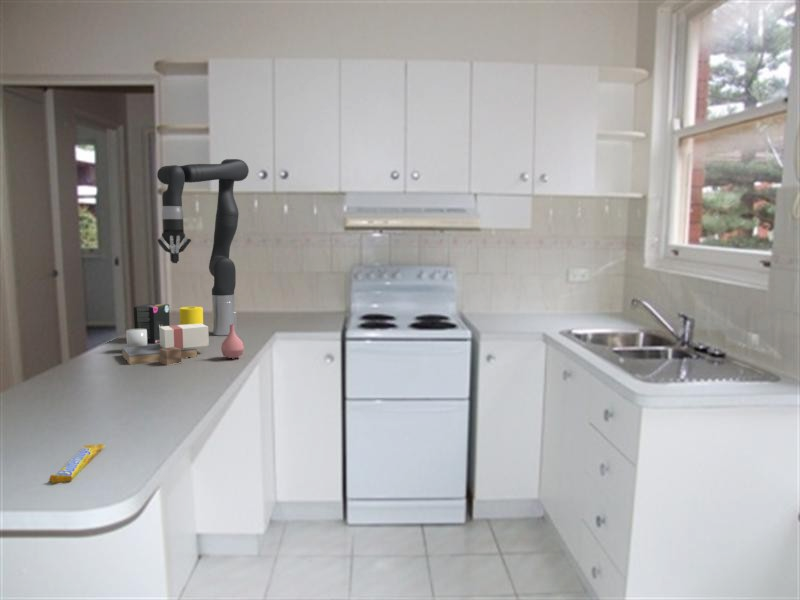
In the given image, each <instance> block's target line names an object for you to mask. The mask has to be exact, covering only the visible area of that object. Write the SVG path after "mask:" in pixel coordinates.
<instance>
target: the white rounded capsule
mask: <svg viewBox="0 0 800 600" xmlns="http://www.w3.org/2000/svg"><path fill="white" fill-rule="evenodd" d="M125 333H126V347H134V346H144V345H149V343H147V329H135V328H129V329H126V331H125Z"/></svg>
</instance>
